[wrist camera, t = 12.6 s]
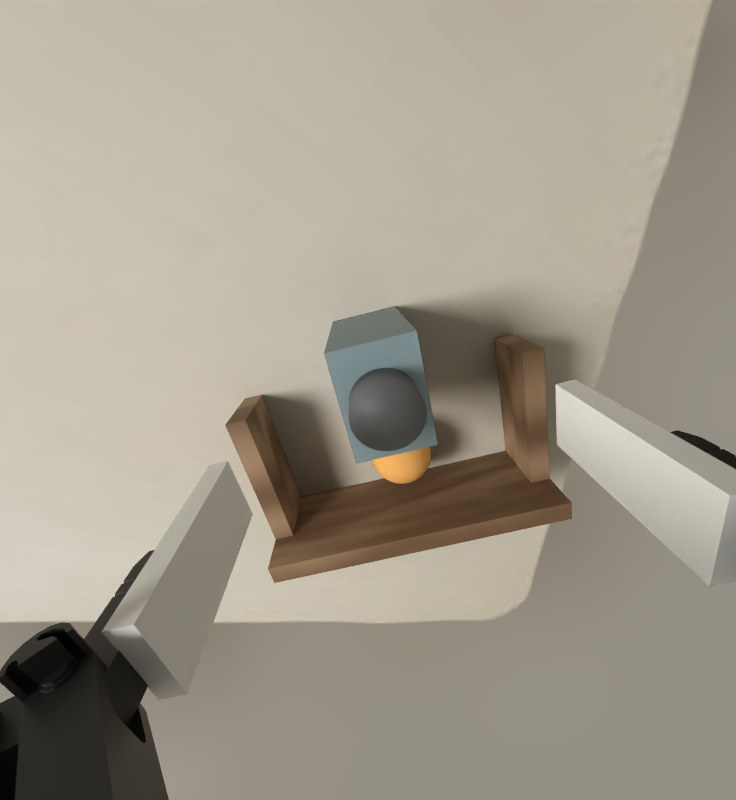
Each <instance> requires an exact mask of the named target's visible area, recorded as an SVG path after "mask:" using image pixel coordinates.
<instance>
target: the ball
mask: <svg viewBox="0 0 736 800" xmlns="http://www.w3.org/2000/svg"><path fill="white" fill-rule="evenodd" d="M430 460H431V449H430V447H427V448H422V449H418V450H414V451H409V452H405V453H401V454H396V455H392V456H388V457H383V458H379V459H374V460H372V461H373V464H374V466H375V468H376V470H377V471H378V473H379V474H380V475H381V476H382V477H384V478H385V479H387V480H388V481H391V482H393V483H399V484H405V483H410V482H413V481H415V480H417V479H418V478H420V477H421V476H422V475H423V474H424V473H425V471H426V470H427V468H428V466H429V464H430Z"/></svg>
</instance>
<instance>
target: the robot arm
mask: <svg viewBox="0 0 736 800" xmlns="http://www.w3.org/2000/svg"><path fill="white" fill-rule="evenodd" d="M556 428H557V445H558V446H559V447H560V448H561V449H562V450H563V451H564V452H565V453H566V454H567V455H568V456H570V457H571V458H572V459H573V460H574V461H575V462H576V463H577V464H578V465H579V466H580V467H581V468H583V469H584V470H585V471H586V472H587V473H588V474H589V475H590V476H591V477H592V478H593V479H595V480H596V481H597V482H598V483H599V484H600V485H601V486H602V487H603V488H604V489H605V490H606V491H608V492H609V493H610V494H611V495H612V496H613V497H614V498H615V499H616V500H617V501H618V502H619V503H620V504H622V505H623V506H624V507H625V508H626V509H627V510H628V511H629V512H630V513H631V514H632V515H633V516H635V517H636V518H637V519H638V520H639V521H640V522H641V523H642V524H643V525H644V526H645V527H646V528H647V529H649V530H650V531H651V532H652V533H653V534H654V535H655V536H656V537H657V538H658V539H659V540H660V541H662V542H663V543H664V544H665V545H666V546H667V547H668V548H669V549H670V550H671V551H672V552H674V553H675V554H676V555H677V556H678V557H679V558H680V559H681V560H682V561H683V562H684V563H685V564H686V565H688V566H689V567H690V568H691V569H692V570H693V571H694V572H695V573H696V574H697V575H698V576H699V577H700V578H702V579H703V580H704V581H705V582H706V583H707V584H708V585H709V586H713V585H718V584H723V583H727V582H733V581H736V457H735V455H733V454H731V453H730V452H728V451H726V450H724V449H722V450H721V449H720V448H719V447H718V446H716V445H714V444H713V443H711V442H709V441H707V440H705V439H703V438H701V437H698V436H695V435H691V434H688V433H685V432H681V431H673V432H668V431H667V430H665V429H663V428H661V427H659V426H658V425H656V424H654V423H652V422H651V421H649V420H647V419H645V418H643V417H642V416H640V415H638V414H636V413H634V412H633V411H631V410H629V409H627V408H626V407H624V406H622V405H620V404H618V403H617V402H615V401H613V400H611V399H609V398H608V397H606V396H604V395H602V394H600V393H599V392H597V391H595V390H594V389H592V388H590V387H588V386H586V385H585V384H583V383H581V382H579V381H577V380H576V379H575V380H571V381H566V382H562V383H558V384H556ZM251 517H252V512H251V510H250V507H249V505H248V503H247V501H246V499H245V497H244V495H243V493H242V490H241V488H240V486H239V484H238V482H237V480H236V478H235V476H234V474H233V471H232V469H231V467H230V465H229V463H228V461H227V462H223V463H218V464H214V465H210V466H209V467H208V469H207V470H206V472H205V473H204V475H203V476H202V478H201V479H200V481H199V482H198V484H197V486H196V487H195V489H194V490H193V492H192V493H191V495H190V496H189V498H188V499H187V501H186V502H185V504H184V506H183V507H182V509H181V510H180V512H179V513H178V515H177V516H176V518H175V519H174V521H173V523H172V524H171V526H170V527H169V529H168V530H167V532H166V533H165V535H164V536H163V538H162V539H161V541H160V543H159V544H158V546H157V547H156V549H155V550H152V551H149V552H148V553H147V554H146V555H145V556H144V557H143V558H142V559H141V560H140V561H139V562H138V563H137V564H136V565H135V566H134V567H133V568H132V570H131V571H130V573H129V574H128V576H127V577H126V579H125V580H124V584H121V586H120V587H119V589H118V590H117V592H116V593H115V597H113V598H112V599H111V601H110V602H109V604H108V605H107V606H106V608H105V609H104V611H103V612H102V614H101V615H100V617H99V618H98V620H97V621H96V623H95V624H94V626H93V627H92V629H91V630H90V631H89V633H88V634H87V636H86V637H85V639H83V638H82V637H81V636H80V635H79V633H78V632H77V631H76V630H75V629H74V628H73V626H72V625H71V624H70V623H59V624H55V625H52V626H50V627H48V628H46V629H44V630H43V631H41V632H39V633H37V634H36V635H35V636H33V637H32V638H30V639H29V640H28V641H26V642H25V643H24V644H23V645H22V646H21V647H20V648H19V649H18V650H17V651H15V652H14V653H13V654H12V655H11V656H10V658H9V659H8V660H7V662H6V663H5V665H4V666H3V667H2V668H1V671H0V683H1V684H2V685H4V686H5V687H6V688H7V689H8V690H9V691H10V692H11V693H13V694H14V695H15V696H14V697H12V698H10V699H8V700H6V701H4V702H2V703H0V800H169V799H168V795H167V792H166V788H165V783H164V779H163V776H162V772H161V768H160V764H159V760H158V756H157V752H156V748H155V744H154V741H153V737H152V733H151V729H150V725H149V721H148V717H147V713H146V711H145V709H144V708H143V706H142V705H141V704H140V702H141V700H142V698H143V695H144V693H145V691H146V689H147V687H148V688H149V689H150V690H151V691H152V692H153V694H155V696H156V697H157V698H158V700H160V699H165V698H170V697H175V696H180V695H185V694H187V693H188V690H189V687H190V684H191V682H192V679H193V676H194V674H195V671H196V668H197V665H198V663H199V660H200V657H201V654H202V652H203V649H204V646H205V643H206V641H207V638H208V635H209V632H210V630H211V627H212V624H213V622H214V619H215V616H216V613H217V611H218V608H219V605H220V602H221V600H222V597H223V594H224V591H225V589H226V586H227V583H228V580H229V578H230V575H231V572H232V569H233V567H234V564H235V561H236V558H237V556H238V553H239V550H240V547H241V545H242V542H243V539H244V536H245V534H246V531H247V528H248V525H249V523H250V520H251Z"/></svg>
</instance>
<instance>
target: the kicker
mask: <svg viewBox="0 0 736 800" xmlns="http://www.w3.org/2000/svg"><path fill="white" fill-rule="evenodd" d="M324 355H325V358H326V362H327V365H328V369H329V372H330V375H331V379H332V382H333V386H334V389H335V392H336V396H337V399H338V403H339V406H340V409H341V413H342V416H343V420H344V423H345V426H346V430H347V433H348V437H349V440H350V443H351V447H352V450H353V454H354V457H355V460H356V464H357V463H361V462H366V461H370V460H374V459H379V458H383V457H388V456H392V455H396V454H401V453H405V452H409V451H414V450H418V449H422V448H427V447H431V446H435V445H438V443H437V437H436V432H435V427H434V421H433V416H432V410H431V405H430V399H429V394H428V389H427V383H426V378H425V372H424V367H423V361H422V356H421V351H420V345H419V340H418V334H417V330H416V329H415V328H414V327H413V326H412V325H411V324H410V323H409V322H408V320H407V319H406V318H405V317H404V316H403V315H402V314H401V313H400V312H399V311H398V309H397V308H396V307H395V306H394V307H390V308H386V309H382V310H378V311H374V312H370V313H366V314H362V315H358V316H354V317H350V318H346V319H342V320H338V321H334V322H333V323H332V327H331V331H330V334H329V338H328V341H327V345H326V348H325V352H324Z"/></svg>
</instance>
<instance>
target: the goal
mask: <svg viewBox="0 0 736 800" xmlns="http://www.w3.org/2000/svg"><path fill="white" fill-rule="evenodd" d="M495 347H496V357H497V367H498V377H499V387H500V397H501V407H502V418H503V428H504V438H505V448H506V451H504V452H500V453H495V454H491V455H486V456H482V457H478V458H473V459H469V460H464V461H460V462H456V463H451V464H447V465H442V466H438V467H434V468H429V469H427V470H426V471H425V473H424V474H423V475H422V476H421V477H420V478H418V479H417V480H415V481H413V482H410V483H405V484H399V483H393V482H391V481H388V480H387V479H381V480H376V481H372V482H367V483H363V484H359V485H354V486H350V487H345V488H341V489H337V490H332V491H328V492H323V493H319V494H315V495H310V496H306V497H301V496H300V494H299V491H298V488H297V486H296V483H295V480H294V478H293V475H292V473H291V470H290V467H289V465H288V462H287V460H286V457H285V454H284V452H283V449H282V447H281V444H280V441H279V439H278V436H277V433H276V431H275V428H274V426H273V423H272V420H271V418H270V415H269V413H268V410H267V407H266V405H265V402H264V400H263V397H262V395H259V396H255V397H251V398H247V399H244V401H243V402H242V403H241V405H240V406H239V407H238V409H237V410H236V411H235V413H234V414H233V415H232V417H231V418H230V419H229V421H228V422H227V423H226V428H227V430H228V432H229V434H230V437H231V439H232V441H233V443H234V446H235V448H236V450H237V453H238V455H239V457H240V459H241V462H242V464H243V466H244V468H245V471H246V473H247V475H248V477H249V480H250V482H251V484H252V486H253V489H254V491H255V493H256V495H257V498H258V500H259V502H260V505H261V507H262V509H263V511H264V514H265V516H266V518H267V520H268V523H269V525H270V527H271V529H272V532H273V534H274V536H275V538H276V541H275V545H274V549H273V552H272V556H271V560H270V564H269V567H268V570H269V572H270V574H271V576H272V578H273V580H274V582H275V583H276V582H281V581H285V580H290V579H295V578H299V577H304V576H309V575H313V574H318V573H322V572H327V571H332V570H336V569H341V568H346V567H350V566H355V565H359V564H364V563H369V562H373V561H378V560H383V559H387V558H392V557H396V556H401V555H406V554H410V553H415V552H420V551H424V550H429V549H434V548H438V547H443V546H447V545H452V544H457V543H461V542H466V541H471V540H475V539H480V538H484V537H489V536H494V535H498V534H503V533H508V532H512V531H517V530H521V529H526V528H531V527H535V526H540V525H545V524H549V523H554V522H558V521H563V520H568V519H571V518H572V509H571V508H572V507H571V506H572V505H571V502H570V501H569V499H568V498H567V497H566V496H565V495H564V494H563V493H562V492H561V491H560V489H559V488H558V487H557V486H556V485H555V484H554V483H553V482H552V481H551V480H550V474H549V451H548V429H547V406H546V383H545V361H544V348H541V347H539V346H537V345H535V344H533V343H531V342H529V341H527V340H524V339H522V338H520V337H518V336H516V335H514V334H511V335H507V336H503V337H499V338H495Z"/></svg>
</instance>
